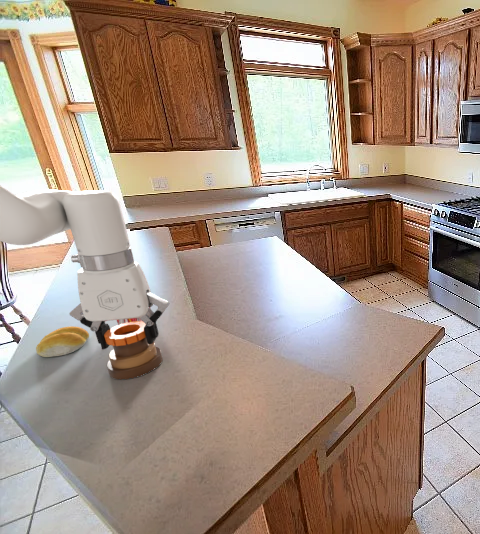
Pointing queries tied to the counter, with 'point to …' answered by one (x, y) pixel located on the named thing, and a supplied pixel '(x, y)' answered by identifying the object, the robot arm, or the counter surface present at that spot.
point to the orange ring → (117, 339)
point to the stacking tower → (133, 359)
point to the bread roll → (62, 341)
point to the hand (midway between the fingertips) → (130, 342)
